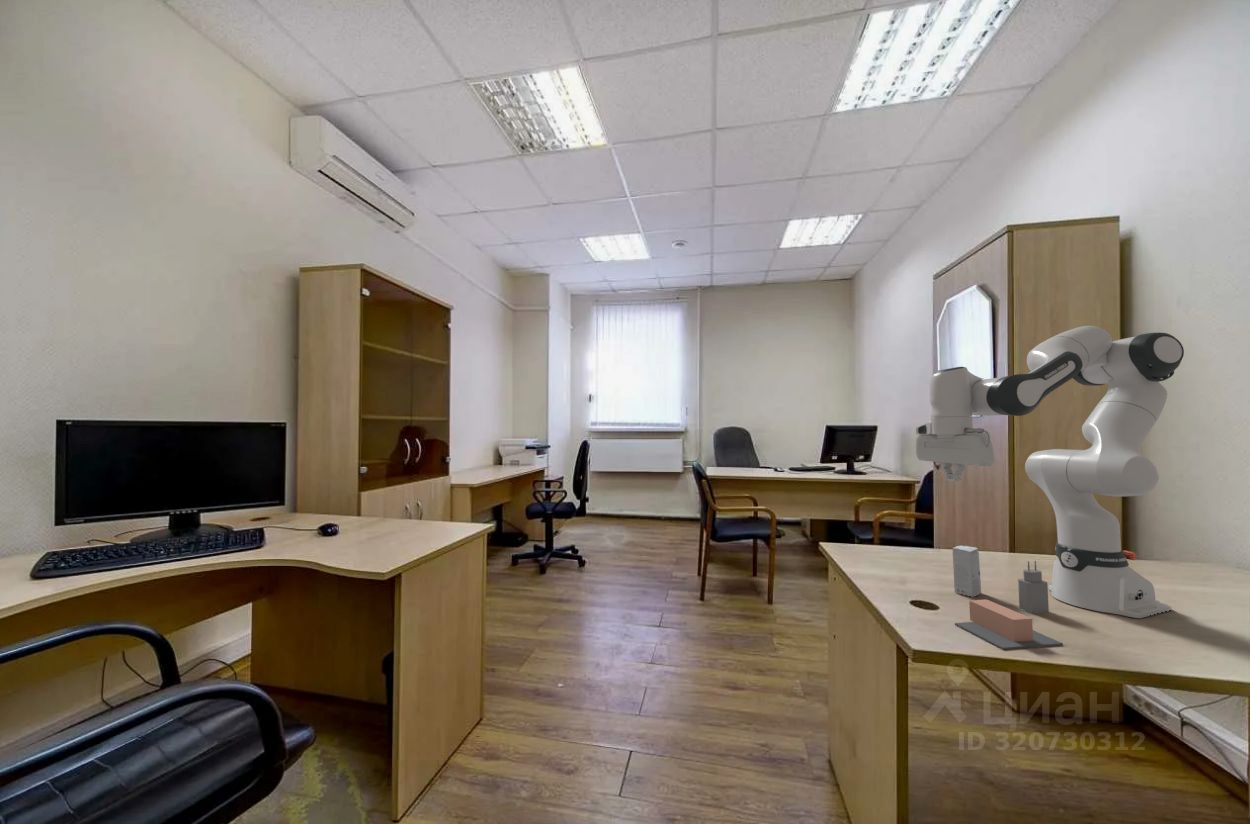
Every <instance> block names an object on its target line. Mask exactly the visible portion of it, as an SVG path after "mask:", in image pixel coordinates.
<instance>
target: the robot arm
mask: <svg viewBox="0 0 1250 824" xmlns="http://www.w3.org/2000/svg"><path fill="white" fill-rule="evenodd" d="M1184 354H1185V350H1184V347H1183V344H1182V342H1181V341H1180V340H1179V339H1177V338H1176V337H1175V336H1174V335H1172V334H1170V333H1166V332H1147V333H1142V334H1141V333H1140V334H1139V335H1136V336H1132V337H1127V338H1121V339H1117V340H1113V339H1112V336H1111V335H1110V333H1109V332H1108V331H1107V330H1105V329H1104V328H1101V327H1100V326H1095V325H1083V326H1078V327H1074V328H1072V329H1069V330H1066V331H1063V332H1060V333H1058V334H1056V335H1053V336H1052V337H1050V338H1047V339H1046V340H1044V341H1042V342H1040V343H1038V344H1037V345H1036V346H1035V347H1033V348H1031V350H1030V351H1029V352H1028V353H1027V354H1026V355H1027V356H1026V366H1027V368H1028V370H1029V372H1027V373H1020V374H1019V373H1018V374H1012V375H1007V376H1001V377H993V378H987V379H986V378H982V377H979V376H977V375H975V374H973V373H971V372H970V371H969V370H968V368H967V366H966V367H965V366H957V367H950V368H945V369H940V370H937V371H935V372H934V373H933V374H932V376H931V377H930V378H931V379H930V384H929V402H930V405H931V413H930V421H928V422H926V423H924V424H921V425H918V426H916V427H915V434H916V435H918V436H917V437H916V440H915V452H916V453H915V454H916V458H917V459H918V460H919V461H925V462H933V463H934V462H935V463H940V468H941V469H942V471H943V472H944V477H945V480H946V481H952V482H960V481H962V476H961V475H962V474H963V472H964V471H965V469H966V466H979V467H990V466H992V465H993V464H994V463H995V453H994V448H993V443H992V441H991V440H992V439H991V435H990V434H991V433H989V432H988V430H985V429H984V428H983V427H982V428H979V427H978V428H974V427H973V416H975V417H976V416H978V417H979V416H980V417H981V416H983V417H984V416H988V417H989V416H1008V417H1009V416H1010V417H1011V416H1013V417H1014V416H1015V417H1021V416H1026V415H1028V414H1030V413H1032V412H1033V411H1035V410H1036V408H1037V407H1038V406H1039V405H1040V403H1041V402H1042V401H1043V400H1044V399H1045V397H1046V396H1048V395H1050V393H1052V392H1053V391H1055V390H1057V389H1058V388H1059V387H1061V386H1063V385H1064V384H1066V383H1067V382H1069V381H1070V380H1072V379H1073V380H1074V381H1075V382H1077V383H1078V384H1081V385H1082V386H1087V387H1088V386H1090V387H1093V386H1094V387H1095V386H1097V387H1098V386H1103V385H1107V384H1108V388H1107V391H1106V393H1105V395H1104V396H1103V397H1102V398H1101V400H1100V401H1099V402H1098V403H1097V404H1096V406H1095V407H1094V409H1093V410H1092V411H1091V413H1090V414H1089V416H1088V417H1087V418H1086V420H1085V421H1084V423H1083V424H1082V425H1081V432H1082V435H1083V437H1084V439H1085V440H1086V441H1088V442H1089V443H1090V444H1091V446H1090V447H1089V448H1087V449H1069V448H1068V449H1063V448H1051V449H1044V450H1038V451H1034V452H1032V453H1031V454H1030V455H1028V456H1027V459H1026V461H1025V464H1024V469H1025V473H1026V475H1027V477H1028V479H1029V480H1030V481H1032V482H1033V483H1034V484H1035V485H1037V486H1038V487H1039V488H1040V489H1041V490H1042V491H1043V493H1044V494H1045V495H1046V497H1047V499H1048V500H1049V502H1050V504H1051V507H1052V508H1053V509H1052V510H1053V512H1054V515H1055V521H1056V522H1055V523H1056V534H1057V541H1056V542H1055V546H1054V548H1055V549H1054V550H1055V556H1056V557H1057V559H1055V561H1054V562H1053V569H1052V580H1051V581H1052V582H1051V584H1049V585H1048V591H1049V590H1050V591H1051V592H1050V593H1051V596H1052V597H1053V598H1055V599H1056V600H1058V601H1061V602H1062V603H1063V602H1064V603H1065V604H1069V605H1072V606H1075V607H1078V608H1083V609H1088V610H1091V611H1096V612H1101V613H1108V614H1114V615H1120V616H1124V617H1128V618H1129V617H1130V618H1134V619H1142V618H1145V617H1150V615H1151V616H1154V614H1155V615H1158V614H1157V613H1159V614H1162V613H1161V612H1163V613H1166V612H1165V611H1167V612H1170V611H1169V610H1171V611H1172V606H1171V605H1169V604H1168V603H1165V602H1163V601H1160V600H1157V599H1156V591H1155V587H1154V585H1153V583H1152V582H1151V581H1150V580H1148V579H1147V578H1145V577H1144V576H1143V575H1141V574H1140V573H1139V572H1137V571H1136V570H1134V569H1133V568H1132V567H1130V566H1129V561H1128V560H1131V561H1136V560H1137V558H1138V554H1137V553H1136V552H1133V551H1128V550H1122V547H1121V546H1122V544H1121V542H1122V541H1121V524H1120V522H1119V519H1118V518H1117V516H1116V515H1115V514H1113V513H1112V512H1110V511H1109V510H1107V509H1105V508H1104V507H1103V506H1101V504H1099V502H1098V500H1097V499H1096V497H1095V496H1094V494H1095V495H1102V496H1109V497H1110V496H1111V497H1140V496H1145V495H1148V494H1149V493H1151V492H1152V491H1153V490H1154V489H1155V488H1156V487H1157V484H1158V483H1159V471H1158V469H1157V467H1156V465H1154V463H1153V462H1152V461H1151V460H1150V459H1149V458H1147V457H1145V456H1144V455H1143V453H1142V446H1143V444H1144V442H1145V440H1146V438H1147V437H1148V435H1149V433H1150V432H1151V430H1152V428H1154V425H1156V424H1157V421H1158V419H1159V417H1160V416H1161V415H1162V412H1163V410H1164V408H1165V405H1166V402H1167V398H1168V391H1167V389H1166V387H1165V386H1164V385H1162V383H1160V382H1164V381H1167V380H1168V379H1170V378H1172V377H1173V376H1174V375H1175V370H1176V369H1178V368H1179V366H1180V364H1181V362H1182V359H1183V357H1184ZM953 468H954V470H953Z"/></svg>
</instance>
